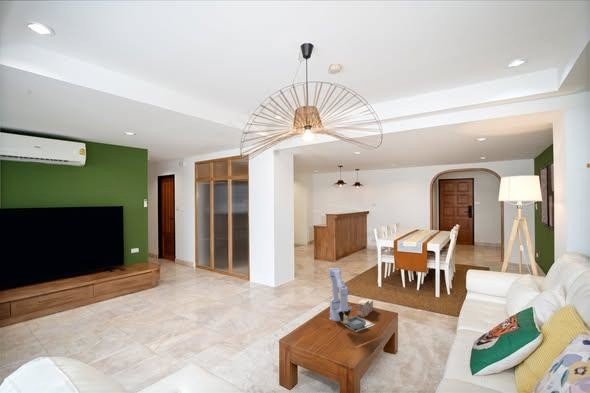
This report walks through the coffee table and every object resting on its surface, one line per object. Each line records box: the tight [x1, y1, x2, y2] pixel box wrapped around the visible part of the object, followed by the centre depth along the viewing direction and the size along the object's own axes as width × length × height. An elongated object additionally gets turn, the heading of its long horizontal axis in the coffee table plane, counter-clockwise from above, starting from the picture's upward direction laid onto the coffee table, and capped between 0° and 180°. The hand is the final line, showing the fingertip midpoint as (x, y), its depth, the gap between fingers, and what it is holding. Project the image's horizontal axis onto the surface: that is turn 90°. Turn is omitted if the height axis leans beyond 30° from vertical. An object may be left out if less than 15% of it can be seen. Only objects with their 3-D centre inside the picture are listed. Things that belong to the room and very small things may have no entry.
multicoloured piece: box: [356, 298, 374, 318], centre depth 254 cm, size 21×6×12 cm, turn 143°
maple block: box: [340, 313, 349, 325], centre depth 221 cm, size 4×4×5 cm
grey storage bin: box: [345, 315, 366, 330], centre depth 227 cm, size 11×12×5 cm
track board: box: [343, 318, 376, 333], centre depth 230 cm, size 13×22×1 cm, turn 122°
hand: (344, 320), depth 221 cm, fingers closed on maple block, 4 cm apart
